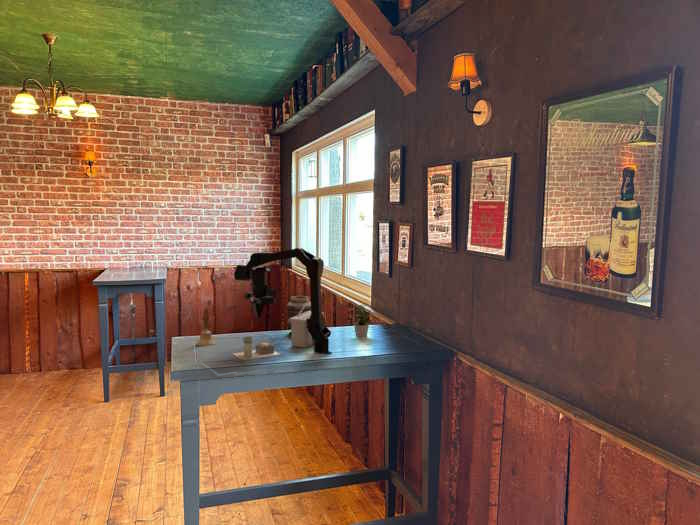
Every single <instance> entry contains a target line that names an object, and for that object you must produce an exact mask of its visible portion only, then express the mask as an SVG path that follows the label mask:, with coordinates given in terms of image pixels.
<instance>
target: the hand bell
mask: <svg viewBox="0 0 700 525" xmlns="http://www.w3.org/2000/svg"><path fill="white" fill-rule="evenodd" d="M202 319H203V325H204V326H203V330H202V331H201V332H200V335H199V339H198V341H197V342H196V346H199V347H210V346H215V345H216V343H217V342H216V341H214V339H213V336H212V331H210V330H209V321H210V320H209V319H210V311H209V308H208V307H205V308H204V310H203V314H202Z"/></svg>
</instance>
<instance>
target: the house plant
mask: <svg viewBox="0 0 700 525" xmlns="http://www.w3.org/2000/svg"><path fill="white" fill-rule="evenodd" d="M364 305H365V304H360V306H359V304H356V307H357V310H356V309H354V308H353V307H351V306H348V307H349V308H350V309H351V311H353V313H354V314H355V316H356V317H355V316H352V315H350V317H349V318H348V319H351V318H352V319H353V320H354V321H356V322H355V323H354V324H353V325H354V332H355V334H354V335H355V338H356V337H358V338H357V339H364V338H363V337H367V338H368V333H369V326H370V323H368V322H369V321H371V320H373V319H374V318H373V319H370V318H371V317H370V314H369V313H370V312H371V311H372V308H370V309H369V311H368V312H367V313H366V311H365V310H366V308H365V306H364ZM365 313H366V315H365Z"/></svg>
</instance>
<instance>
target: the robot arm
mask: <svg viewBox="0 0 700 525" xmlns="http://www.w3.org/2000/svg"><path fill="white" fill-rule="evenodd" d="M249 257H250V258H249V260H248V262H247V263H246V264H245V265H243V264H237V265H236V268H235V269H234V273H233V277H234V279H235V281H237V282H239V281H240V282H241V281H242V282H250V281H251V283H250V285H249V286H250V287H251V291H246V292H245V293H244V294H243V300H248V299H250V300H249V301H248V302H249V304H250V305H251V307H252V310H253V312H254V313H255V315H256V317H257V318H258V319H260V318H261V317H262V313H263V311H264V307H265V306H266V305H274V304H275V303H276V302H275V300H276V299H277V297H278V293H279V290H276V289H273V287H272V286H269V285H268V283H267V282H266V280H267V279H266V277H267V276H266V273H267V272H270V271H271V269H270V268H269V267H268V266H267V264H270V263H272V262H275V261H276V262H277V261H283V260H287V259H293V258H294V259H295V258H296V259H297V260H298V261H299V262H300V263H301V264H302V265H303V266H304V267H305V270H306V274H307V277H308V279H309V292H310V293H309V295H310V296H309V298H310V302H311V308H310V311H311V316H310V317H309V318H307V319H306V321H307V328H308V332H309V333H310V334H311V336H312V339H313V340H314V344H313V350H314V353H316V354H322V355H323V354H326V355H329V354H330V355H331V354H332V351H330V350H329V349H330V348H329V347H330V346H329V345H330V344H329V337H331V334H332V331H331V330H330V329H329V328H328V327H327V325H326V320H325V315H324V316H323V314H322V312H323V311H322V310H323V309H322V307H323V306H322V282H321V279H322V275H323V273H324V265H325V264H324V260H323V259H322V258H320V257H317V256H315V255H313V253H311V252H308V251H307V250H305V249H304V248H303V247H296V248H295V247H294V248H292V249H286V250H279V251H275V252H274V251H273V252H270V251H269V252H268V251H266V252H265V251H260V252H253V253H252V254H250V256H249ZM260 266H261V267H260ZM307 328H306V329H307Z"/></svg>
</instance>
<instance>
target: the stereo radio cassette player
mask: <svg viewBox="0 0 700 525" xmlns="http://www.w3.org/2000/svg"><path fill="white" fill-rule="evenodd" d="M308 299H309V300H308V301H310V300H311V298H310V297H308ZM308 301H307V302H308ZM307 302H306V304H307ZM306 304H305V305H306ZM305 305H304V307H305ZM304 307H303V308H302V310H303V309H304ZM302 310H301V311H300V313H301V312H302ZM300 313H299V314H298V315H297V316H295V317H292V318H290V317H289V318H290V322H291V323H292V327H290V328H291V330H290V332H291V340H290V341H291V342H290V343H291V347H295V348H302V349H305V348H308V347H310V346H312V345H314V340H313V339H312V336H311V334H310V333H309V332H308V328H307V321H306V319H307V318H309V317H310V316H311V310H310V311H307V312H305V313H302V314H300ZM322 314H323V316H324V317H325V312H324V311H322ZM306 328H307V329H306Z"/></svg>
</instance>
